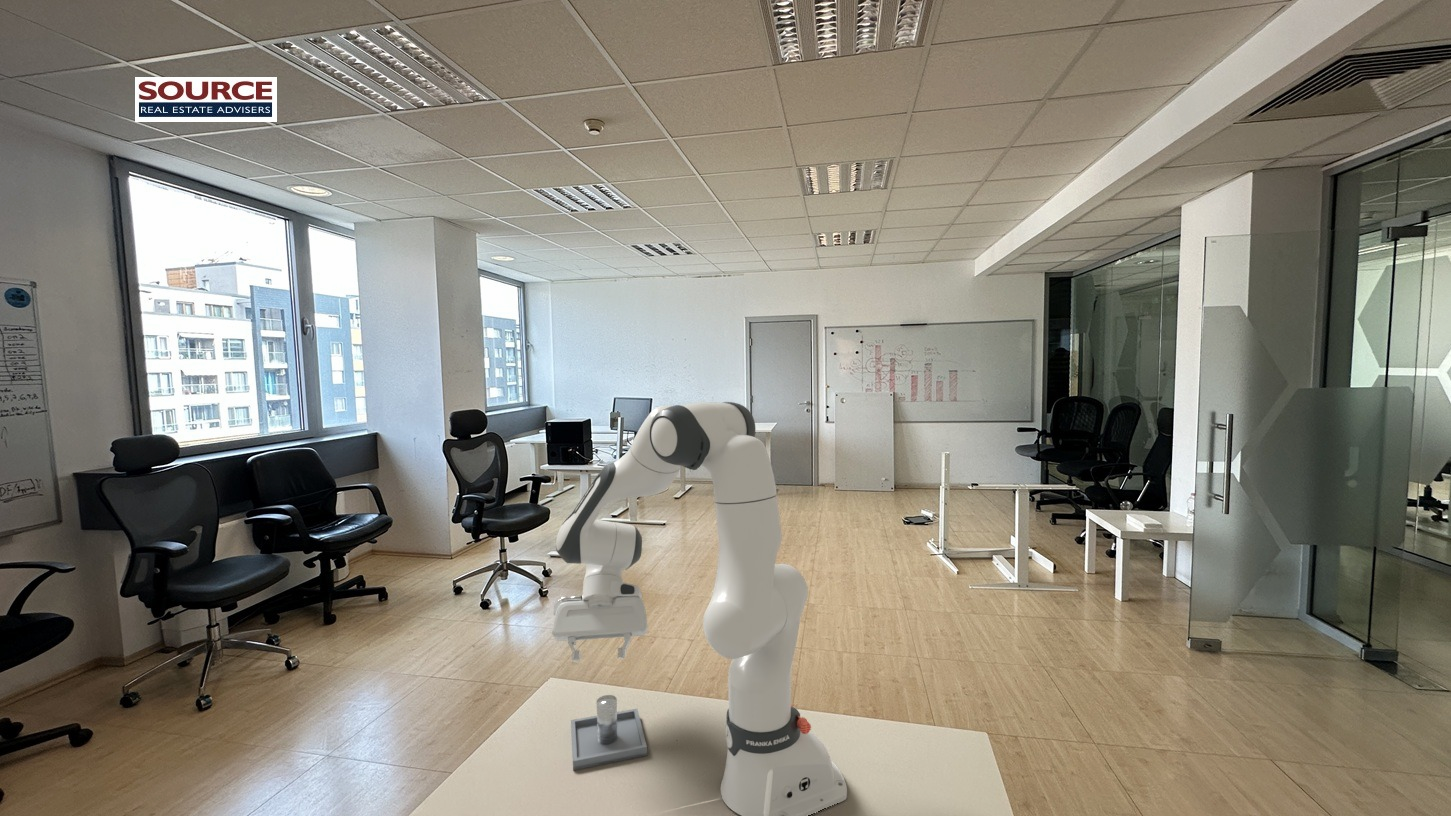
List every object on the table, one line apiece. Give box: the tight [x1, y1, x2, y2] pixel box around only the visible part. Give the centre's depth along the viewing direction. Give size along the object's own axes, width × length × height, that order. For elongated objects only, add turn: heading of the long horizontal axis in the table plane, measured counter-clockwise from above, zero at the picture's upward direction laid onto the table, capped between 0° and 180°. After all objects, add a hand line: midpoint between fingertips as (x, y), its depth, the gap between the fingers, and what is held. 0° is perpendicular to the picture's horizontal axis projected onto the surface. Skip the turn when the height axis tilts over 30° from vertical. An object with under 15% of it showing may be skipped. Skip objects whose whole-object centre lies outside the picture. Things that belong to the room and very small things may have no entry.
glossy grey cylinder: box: [596, 694, 618, 745], centre depth 116 cm, size 4×4×8 cm
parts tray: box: [570, 708, 648, 771], centre depth 117 cm, size 14×14×2 cm
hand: (598, 659), depth 120 cm, fingers open, 8 cm apart
